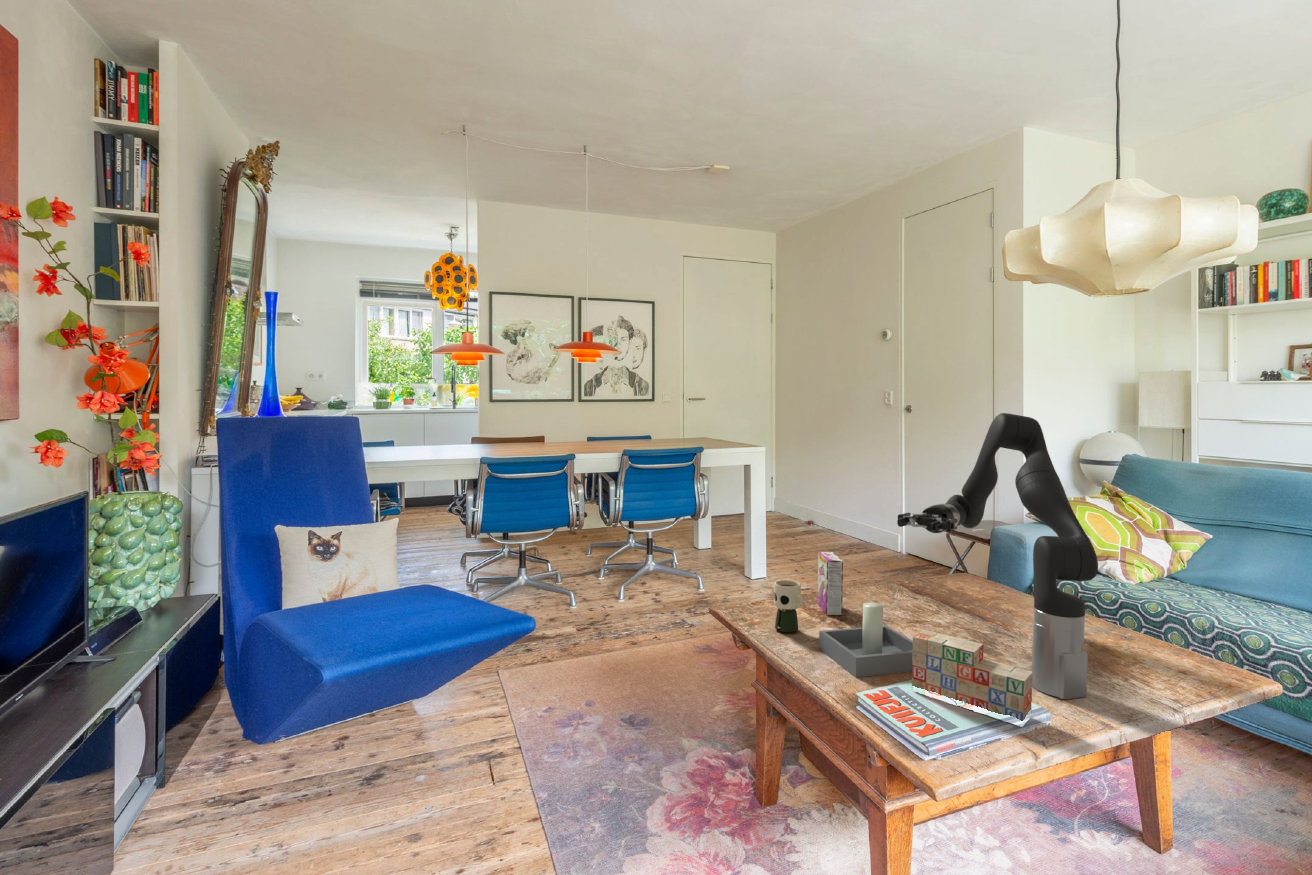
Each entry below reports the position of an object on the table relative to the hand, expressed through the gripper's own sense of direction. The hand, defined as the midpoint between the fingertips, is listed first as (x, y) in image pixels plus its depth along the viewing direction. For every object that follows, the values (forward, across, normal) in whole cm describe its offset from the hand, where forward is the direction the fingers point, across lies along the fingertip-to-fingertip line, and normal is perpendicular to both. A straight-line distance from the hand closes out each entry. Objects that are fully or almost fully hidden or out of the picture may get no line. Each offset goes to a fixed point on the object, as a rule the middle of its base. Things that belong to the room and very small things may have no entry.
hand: (915, 525), depth 161 cm
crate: (+21, 0, +30) cm, 37 cm away
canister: (+21, 0, +29) cm, 36 cm away
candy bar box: (-4, -27, +30) cm, 41 cm away
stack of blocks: (+27, +24, +30) cm, 47 cm away
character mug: (+20, -26, +30) cm, 44 cm away
